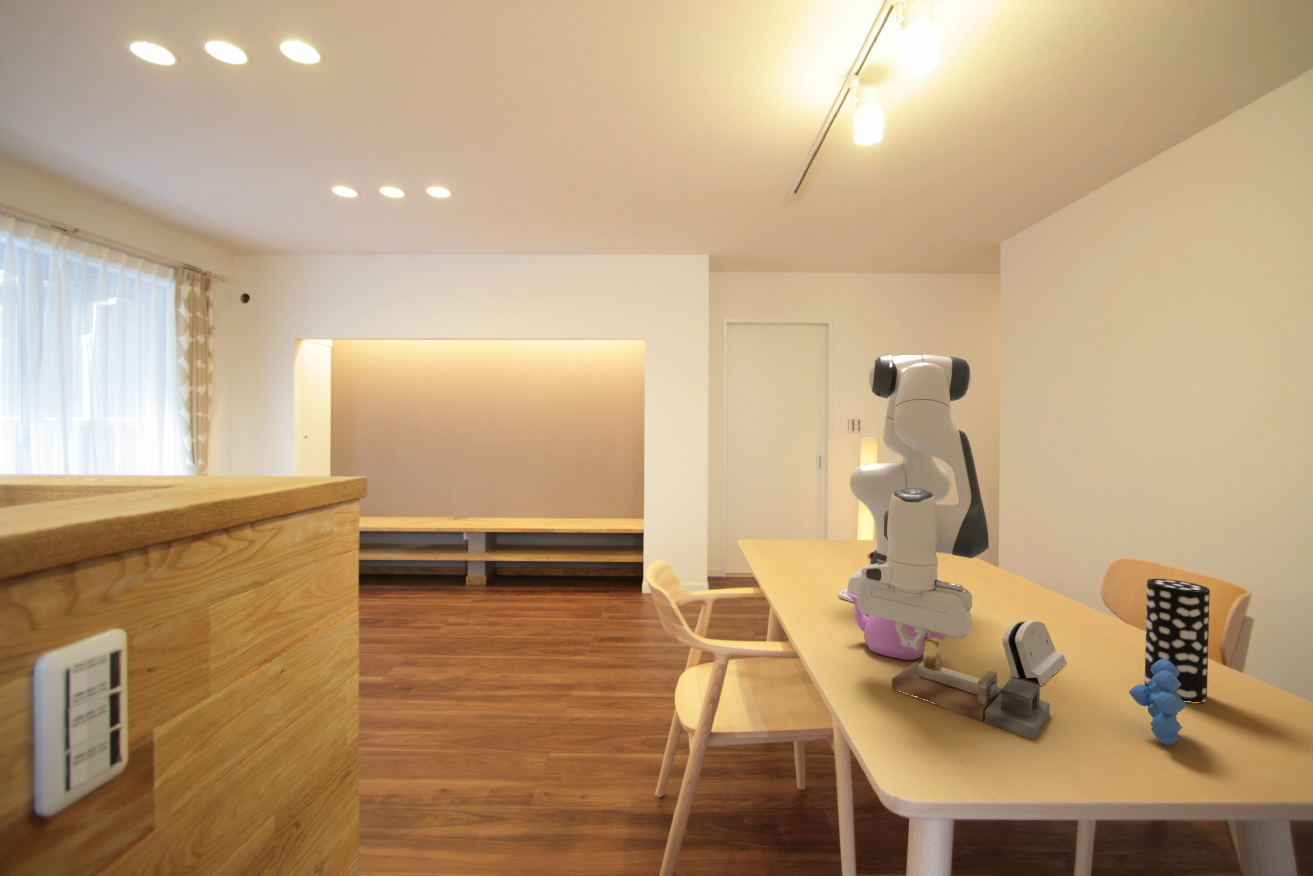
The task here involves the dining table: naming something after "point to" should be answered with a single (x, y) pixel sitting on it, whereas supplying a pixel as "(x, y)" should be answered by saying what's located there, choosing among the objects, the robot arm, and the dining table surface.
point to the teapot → (888, 635)
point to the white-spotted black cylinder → (1179, 633)
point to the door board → (983, 700)
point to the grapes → (1162, 700)
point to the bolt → (946, 670)
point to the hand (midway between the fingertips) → (910, 647)
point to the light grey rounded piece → (1031, 651)
